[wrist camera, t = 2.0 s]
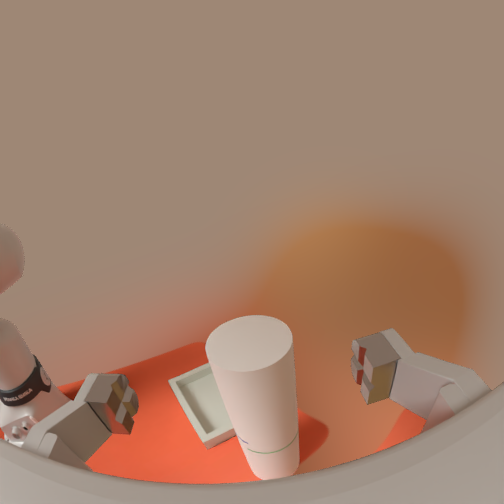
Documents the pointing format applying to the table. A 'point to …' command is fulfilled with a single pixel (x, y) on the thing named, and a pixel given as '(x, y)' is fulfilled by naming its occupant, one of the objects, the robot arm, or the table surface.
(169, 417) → the table surface
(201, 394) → the tray
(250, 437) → the cylindrical container
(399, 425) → the table surface
